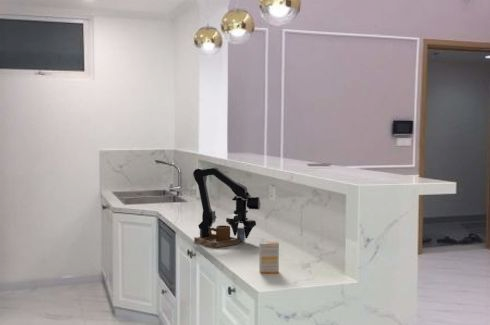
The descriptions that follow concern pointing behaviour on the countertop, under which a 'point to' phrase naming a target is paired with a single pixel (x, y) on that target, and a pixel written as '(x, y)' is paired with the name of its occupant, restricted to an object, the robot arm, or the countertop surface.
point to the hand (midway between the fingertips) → (240, 236)
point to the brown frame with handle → (223, 243)
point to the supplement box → (269, 257)
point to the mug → (220, 233)
